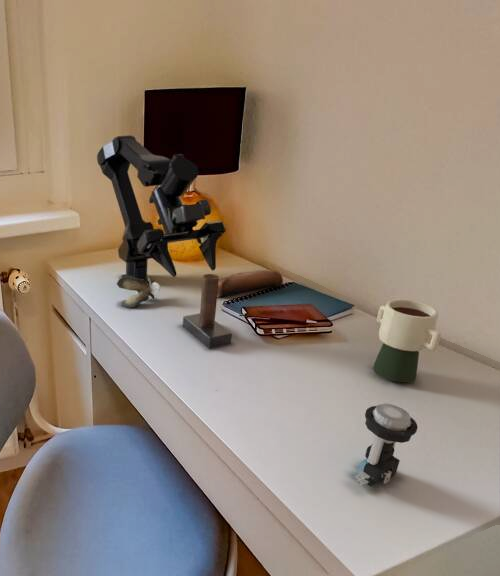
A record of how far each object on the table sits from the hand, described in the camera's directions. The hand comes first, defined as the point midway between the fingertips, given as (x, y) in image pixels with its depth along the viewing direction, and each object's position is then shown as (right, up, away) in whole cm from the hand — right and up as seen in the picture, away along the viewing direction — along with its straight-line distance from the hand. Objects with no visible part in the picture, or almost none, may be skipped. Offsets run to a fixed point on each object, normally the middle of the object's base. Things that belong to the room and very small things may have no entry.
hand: (194, 272), depth 95 cm
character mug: (+30, -18, -15) cm, 39 cm away
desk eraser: (+2, -13, 0) cm, 13 cm away
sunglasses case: (+17, -3, +22) cm, 28 cm away
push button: (+14, -28, -36) cm, 47 cm away
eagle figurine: (-10, -7, +16) cm, 20 cm away
